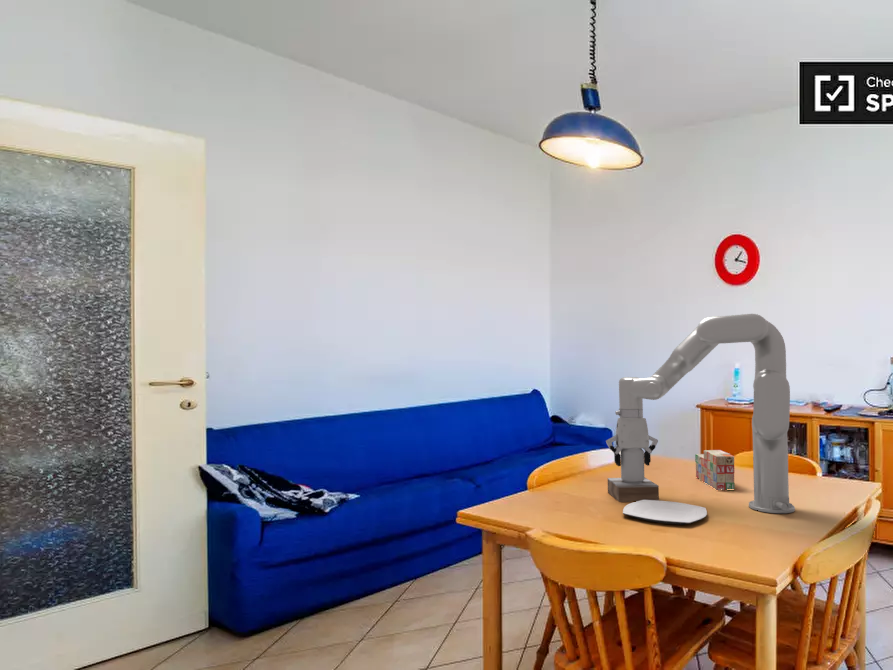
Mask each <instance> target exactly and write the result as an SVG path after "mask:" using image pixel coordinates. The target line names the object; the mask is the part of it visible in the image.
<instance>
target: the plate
mask: <svg viewBox="0 0 893 670" xmlns="http://www.w3.org/2000/svg"><path fill="white" fill-rule="evenodd" d="M622 514H623V515H626V516H630V517H632V518H635V519H639V520H642V521H646V522H653V523H660V524H669V525H679V524H680V525H687V524H691V523H694V522H698V521H701V520H703V519H704V518H706V517H707V515H708V512H707V509H706V507H703V506H700V505H695V504H691V503H690V504H689V503H684V502H678V501H669V500H666V501H665V500H659V501H658V500H640V501H636V502H630V503H628V504H626V505H625V506H624V507H623V509H622ZM680 525H679V526H680Z"/></svg>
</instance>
